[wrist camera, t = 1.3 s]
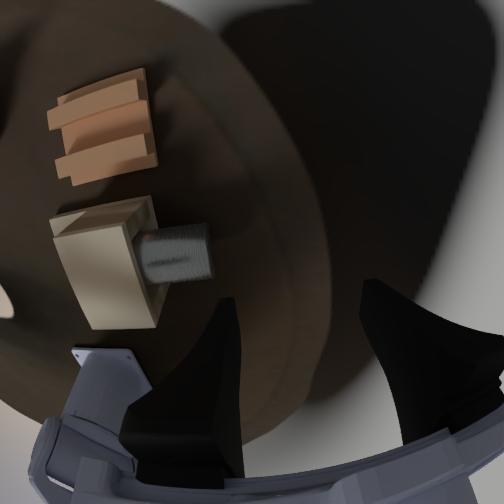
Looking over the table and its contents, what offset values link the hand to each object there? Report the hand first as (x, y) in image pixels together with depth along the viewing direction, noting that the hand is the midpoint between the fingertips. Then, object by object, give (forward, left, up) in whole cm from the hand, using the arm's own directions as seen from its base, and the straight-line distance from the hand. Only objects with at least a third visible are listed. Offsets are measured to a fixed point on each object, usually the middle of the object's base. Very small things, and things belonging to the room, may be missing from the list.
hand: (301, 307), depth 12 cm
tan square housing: (0, +13, -9) cm, 16 cm away
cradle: (+9, +11, -9) cm, 17 cm away
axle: (0, +10, -7) cm, 12 cm away
